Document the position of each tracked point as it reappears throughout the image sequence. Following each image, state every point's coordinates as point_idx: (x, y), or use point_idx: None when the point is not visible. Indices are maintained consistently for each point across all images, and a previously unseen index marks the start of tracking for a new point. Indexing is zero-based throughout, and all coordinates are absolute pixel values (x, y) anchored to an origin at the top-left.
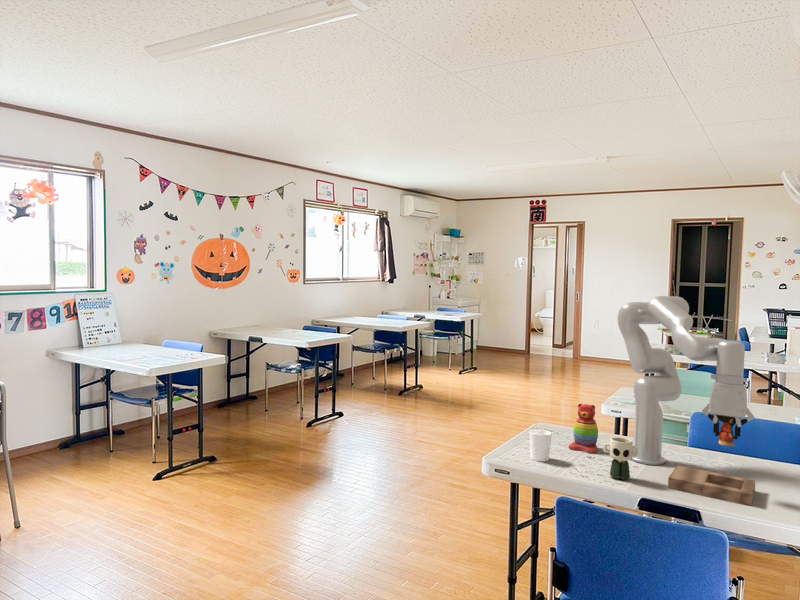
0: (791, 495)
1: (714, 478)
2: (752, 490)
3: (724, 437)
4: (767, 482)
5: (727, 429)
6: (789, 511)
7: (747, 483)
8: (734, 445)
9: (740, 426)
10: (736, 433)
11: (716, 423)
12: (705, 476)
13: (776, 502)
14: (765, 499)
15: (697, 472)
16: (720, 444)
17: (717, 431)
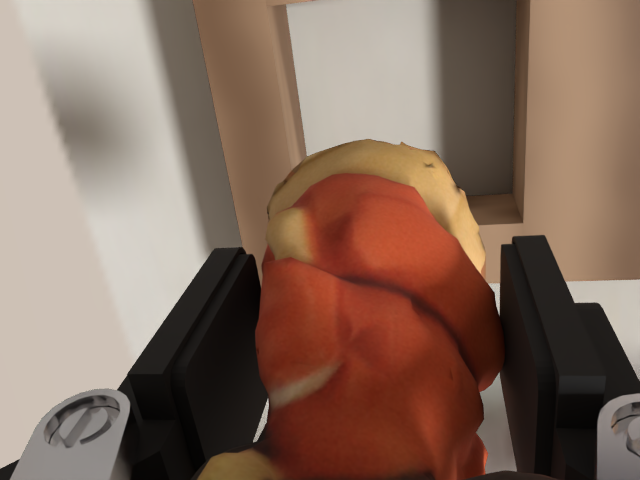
0: (125, 312)
1: (479, 215)
2: (205, 46)
3: (385, 191)
4: (257, 432)
5: (334, 310)
6: (40, 24)
7: (269, 189)
8: (271, 203)
9: (70, 399)
10: (194, 290)
11: (592, 422)
12: (538, 140)
13: (135, 140)
14: (189, 150)
15: (603, 201)
16: (443, 163)
17: (523, 278)
